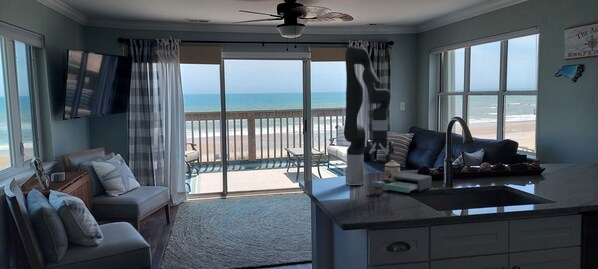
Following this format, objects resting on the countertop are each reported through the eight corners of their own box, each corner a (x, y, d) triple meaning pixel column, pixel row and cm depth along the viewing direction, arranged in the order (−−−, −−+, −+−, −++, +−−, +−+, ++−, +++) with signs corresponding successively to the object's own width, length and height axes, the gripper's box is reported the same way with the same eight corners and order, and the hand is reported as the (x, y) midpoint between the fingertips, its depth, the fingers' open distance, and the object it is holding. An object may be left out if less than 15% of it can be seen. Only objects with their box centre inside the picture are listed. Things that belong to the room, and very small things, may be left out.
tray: (382, 188, 216) (382, 183, 216) (395, 184, 224) (395, 180, 224) (408, 192, 205) (408, 187, 205) (420, 188, 214) (420, 183, 213)
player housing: (392, 186, 224) (392, 175, 223) (404, 183, 232) (404, 172, 232) (420, 191, 212) (420, 179, 212) (431, 187, 221) (431, 176, 220)
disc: (369, 185, 209) (369, 182, 208) (376, 183, 213) (376, 180, 213) (379, 187, 204) (379, 183, 204) (387, 185, 209) (387, 181, 208)
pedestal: (372, 193, 209) (372, 185, 209) (377, 192, 212) (377, 184, 211) (379, 194, 206) (379, 187, 206) (383, 193, 209) (383, 185, 209)
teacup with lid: (381, 179, 245) (381, 159, 244) (395, 178, 248) (394, 158, 247) (392, 183, 233) (392, 162, 232) (406, 181, 236) (406, 161, 235)
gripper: (396, 129, 204) (396, 161, 206) (371, 128, 214) (371, 159, 215) (388, 130, 199) (388, 163, 200) (363, 129, 208) (363, 161, 210)
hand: (379, 161), depth 208 cm, fingers open, 8 cm apart
